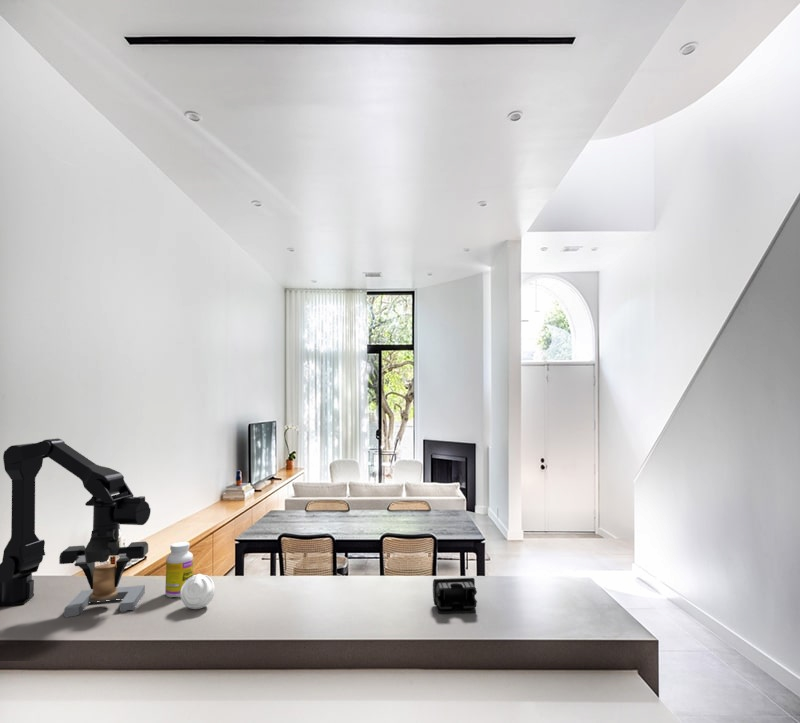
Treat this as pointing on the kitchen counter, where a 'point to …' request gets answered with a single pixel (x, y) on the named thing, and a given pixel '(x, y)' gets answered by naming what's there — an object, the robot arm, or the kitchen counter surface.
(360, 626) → the kitchen counter surface
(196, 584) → the white rounded piece
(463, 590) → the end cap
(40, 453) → the robot arm
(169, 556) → the supplement bottle
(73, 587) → the kitchen counter surface
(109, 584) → the wooden drawer knob
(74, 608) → the notched board
